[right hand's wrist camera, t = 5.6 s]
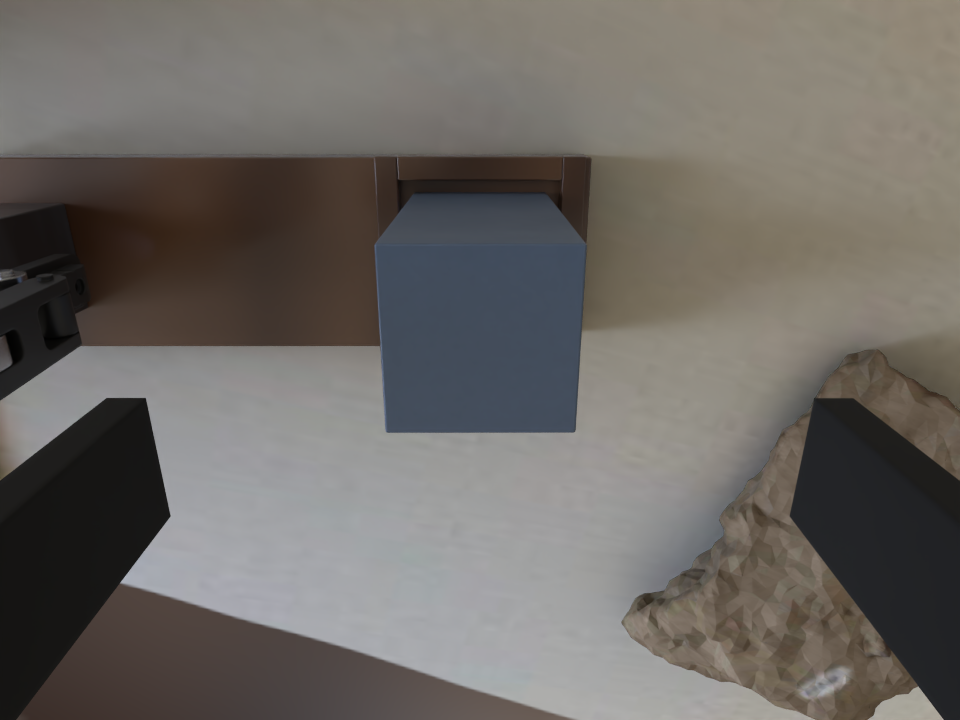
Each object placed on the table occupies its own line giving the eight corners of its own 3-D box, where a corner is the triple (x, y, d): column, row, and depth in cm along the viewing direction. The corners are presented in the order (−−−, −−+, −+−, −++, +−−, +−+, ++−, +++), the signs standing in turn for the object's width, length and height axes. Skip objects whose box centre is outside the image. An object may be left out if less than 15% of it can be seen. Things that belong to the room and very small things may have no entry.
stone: (811, 740, 40) (857, 819, 34) (611, 607, 40) (622, 662, 34) (1037, 469, 37) (1132, 504, 31) (818, 328, 37) (869, 335, 31)
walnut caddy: (584, 152, 30) (631, 171, 21) (574, 335, 34) (610, 421, 24) (-5, 152, 30) (-218, 171, 21) (43, 335, 34) (-122, 421, 24)
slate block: (545, 191, 29) (587, 243, 18) (541, 317, 31) (575, 433, 20) (414, 191, 29) (373, 243, 18) (418, 317, 31) (385, 433, 20)
